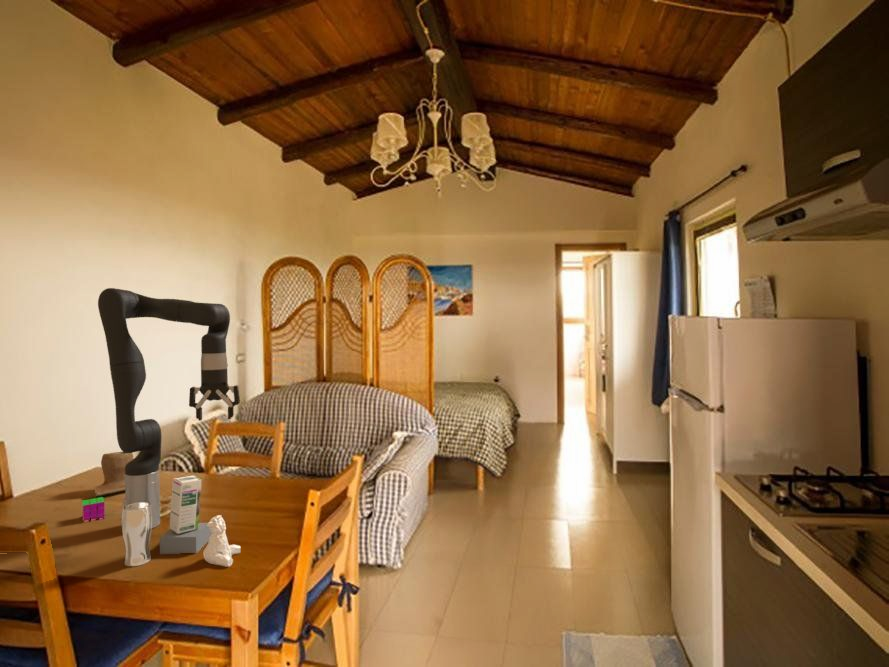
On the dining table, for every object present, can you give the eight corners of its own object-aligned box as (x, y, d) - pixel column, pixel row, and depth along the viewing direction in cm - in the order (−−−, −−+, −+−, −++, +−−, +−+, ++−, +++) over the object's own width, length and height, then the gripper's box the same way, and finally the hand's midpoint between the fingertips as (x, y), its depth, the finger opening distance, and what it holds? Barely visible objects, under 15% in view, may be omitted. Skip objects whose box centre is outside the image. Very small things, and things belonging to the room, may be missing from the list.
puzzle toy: (103, 513, 171) (102, 496, 171) (104, 518, 167) (104, 501, 167) (82, 518, 168) (81, 500, 168) (83, 523, 163) (82, 505, 163)
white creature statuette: (230, 567, 133) (229, 522, 132) (196, 569, 132) (195, 523, 132) (242, 551, 142) (241, 508, 142) (210, 552, 141) (209, 510, 141)
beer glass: (131, 555, 140) (129, 501, 139) (157, 554, 140) (156, 500, 140) (117, 568, 133) (115, 511, 132) (145, 566, 133) (143, 510, 133)
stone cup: (131, 483, 203) (130, 446, 203) (142, 489, 195) (141, 450, 195) (86, 493, 192) (85, 453, 191) (96, 500, 184) (95, 459, 183)
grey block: (159, 555, 141) (159, 537, 141) (178, 539, 151) (177, 523, 151) (196, 554, 141) (196, 536, 141) (212, 539, 151) (211, 522, 151)
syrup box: (177, 534, 142) (181, 482, 142) (168, 528, 145) (172, 477, 145) (198, 529, 146) (202, 478, 146) (189, 523, 150) (193, 474, 150)
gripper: (186, 369, 153) (187, 423, 154) (236, 368, 157) (237, 420, 157) (192, 367, 161) (193, 418, 161) (240, 365, 164) (241, 416, 164)
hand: (215, 419), depth 159 cm, fingers open, 8 cm apart
